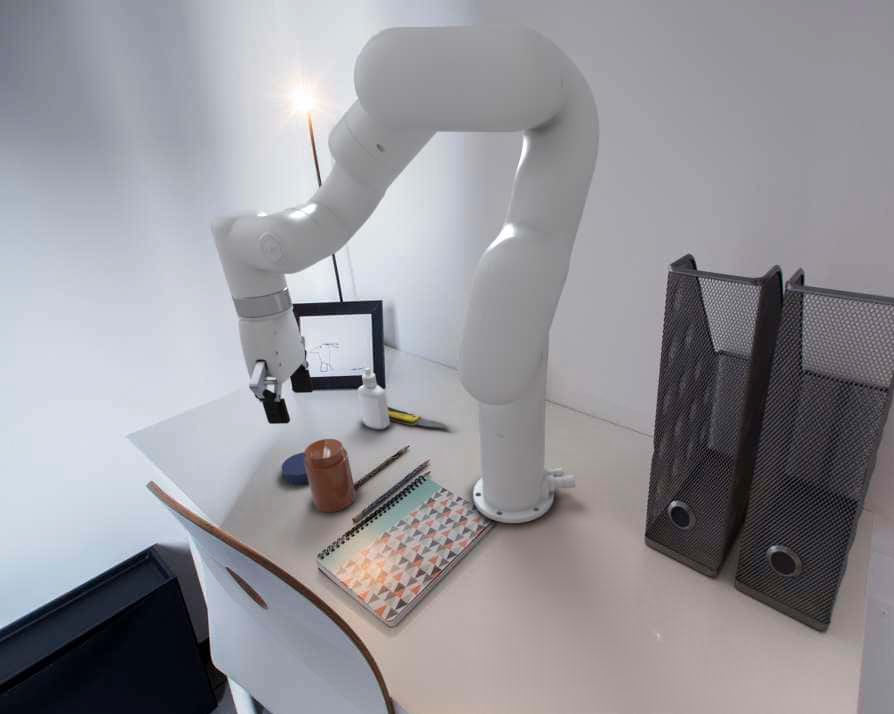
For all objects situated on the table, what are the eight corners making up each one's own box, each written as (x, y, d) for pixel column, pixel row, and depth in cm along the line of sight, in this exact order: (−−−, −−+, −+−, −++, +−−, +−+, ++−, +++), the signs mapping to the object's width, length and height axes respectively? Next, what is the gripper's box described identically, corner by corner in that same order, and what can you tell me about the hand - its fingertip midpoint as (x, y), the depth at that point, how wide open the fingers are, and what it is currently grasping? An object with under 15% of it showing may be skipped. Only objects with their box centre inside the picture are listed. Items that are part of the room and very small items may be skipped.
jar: (352, 482, 87) (342, 433, 83) (358, 505, 82) (348, 454, 78) (312, 492, 85) (299, 442, 81) (316, 516, 80) (302, 465, 76)
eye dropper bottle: (370, 433, 100) (360, 377, 94) (361, 420, 104) (351, 366, 99) (392, 427, 102) (383, 371, 96) (382, 414, 106) (374, 360, 100)
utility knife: (455, 420, 101) (447, 428, 99) (455, 425, 102) (448, 433, 99) (384, 405, 107) (375, 412, 105) (384, 410, 108) (376, 417, 105)
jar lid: (276, 483, 88) (273, 474, 87) (295, 459, 94) (293, 450, 93) (314, 485, 87) (312, 476, 86) (331, 461, 93) (329, 452, 92)
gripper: (264, 285, 83) (291, 382, 92) (205, 325, 68) (244, 436, 76) (310, 283, 83) (333, 381, 91) (261, 323, 68) (294, 435, 76)
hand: (292, 406), depth 84 cm, fingers open, 9 cm apart
